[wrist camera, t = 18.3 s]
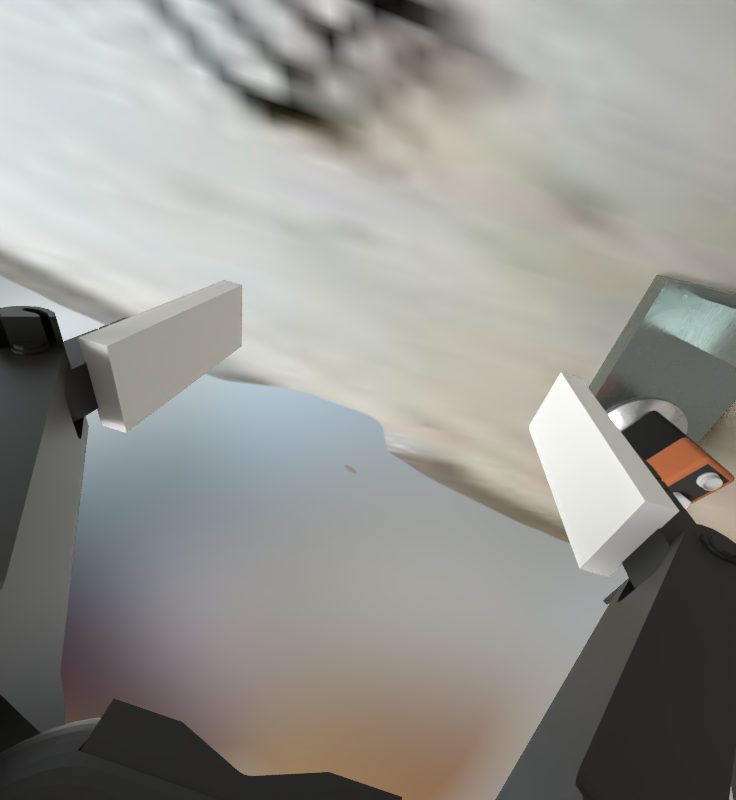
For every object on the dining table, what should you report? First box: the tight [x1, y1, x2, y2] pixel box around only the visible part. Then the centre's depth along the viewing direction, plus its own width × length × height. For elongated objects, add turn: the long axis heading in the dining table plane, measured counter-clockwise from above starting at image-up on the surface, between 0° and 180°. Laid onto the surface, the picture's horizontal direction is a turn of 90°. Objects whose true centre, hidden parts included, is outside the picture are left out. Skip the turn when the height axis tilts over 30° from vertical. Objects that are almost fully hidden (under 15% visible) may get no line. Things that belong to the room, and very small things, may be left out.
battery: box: [621, 410, 734, 510], centre depth 37 cm, size 4×7×10 cm, turn 146°
